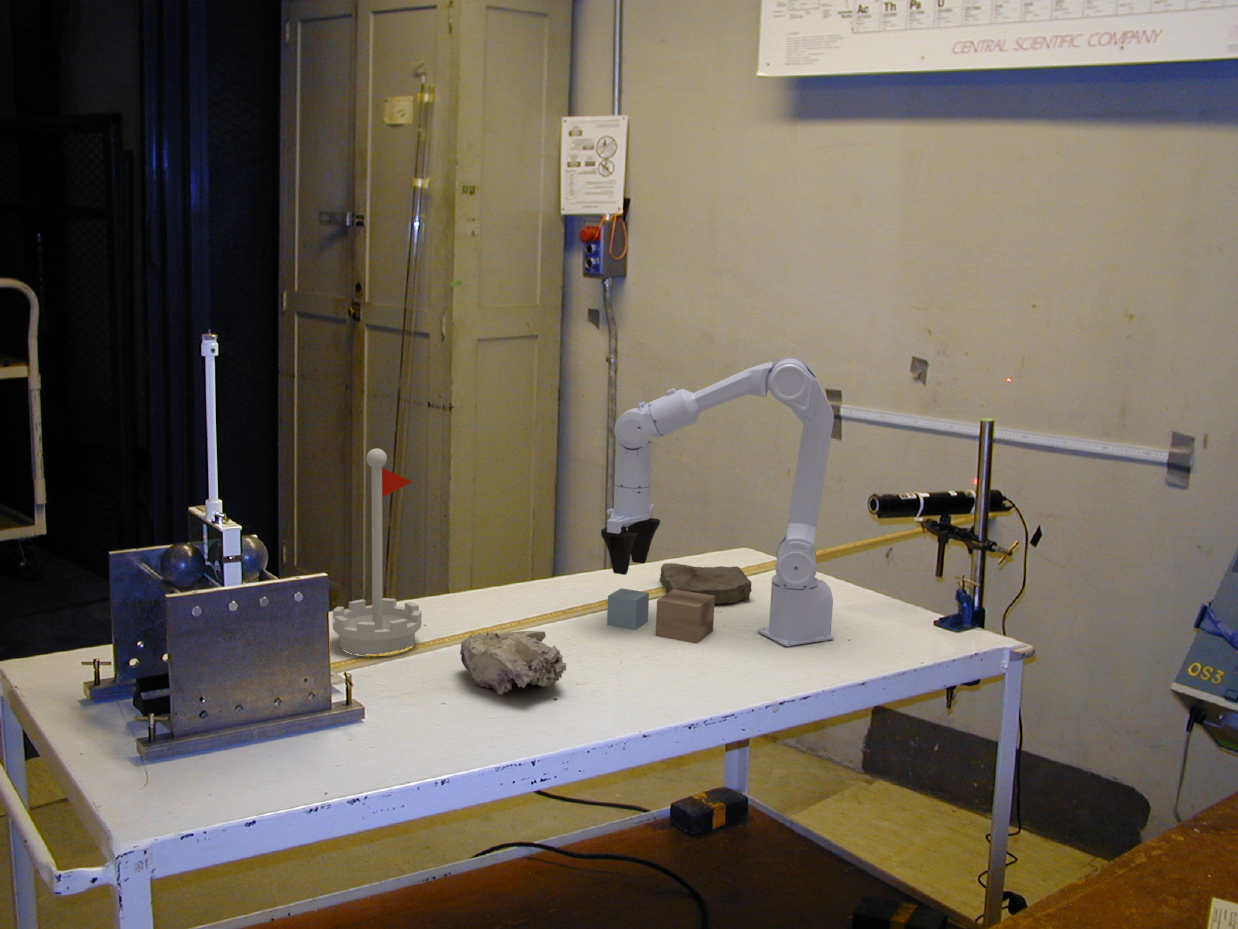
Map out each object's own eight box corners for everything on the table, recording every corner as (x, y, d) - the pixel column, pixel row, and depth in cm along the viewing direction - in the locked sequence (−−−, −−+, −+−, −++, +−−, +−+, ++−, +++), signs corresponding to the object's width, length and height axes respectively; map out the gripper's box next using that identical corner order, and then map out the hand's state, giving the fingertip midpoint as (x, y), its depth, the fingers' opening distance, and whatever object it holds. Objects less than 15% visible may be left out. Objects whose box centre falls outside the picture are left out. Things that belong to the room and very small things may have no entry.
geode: (501, 695, 175) (438, 710, 162) (489, 632, 176) (426, 641, 163) (598, 675, 167) (540, 689, 154) (585, 609, 168) (526, 617, 155)
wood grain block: (672, 624, 194) (674, 589, 193) (713, 631, 191) (714, 595, 190) (655, 636, 188) (656, 600, 186) (696, 644, 185) (698, 607, 184)
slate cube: (620, 617, 197) (621, 588, 196) (647, 622, 195) (649, 592, 194) (606, 625, 192) (607, 595, 191) (635, 630, 190) (636, 600, 189)
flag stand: (337, 663, 171) (335, 457, 166) (329, 634, 183) (326, 442, 178) (428, 655, 175) (429, 455, 170) (413, 628, 187) (414, 440, 182)
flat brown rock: (658, 581, 219) (659, 559, 219) (737, 582, 221) (739, 560, 220) (669, 609, 203) (671, 585, 202) (755, 610, 204) (756, 586, 203)
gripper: (627, 474, 197) (624, 554, 199) (590, 489, 184) (587, 575, 186) (667, 479, 194) (663, 560, 196) (632, 495, 181) (629, 581, 183)
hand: (629, 568), depth 191 cm, fingers open, 7 cm apart
